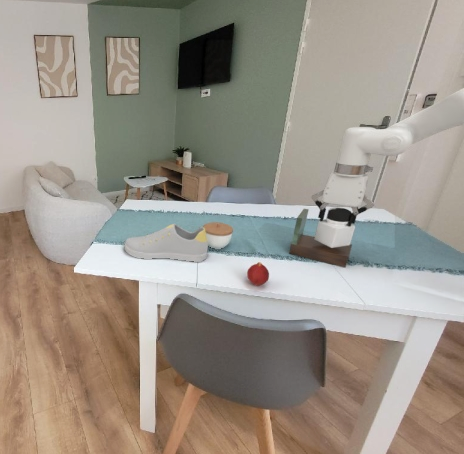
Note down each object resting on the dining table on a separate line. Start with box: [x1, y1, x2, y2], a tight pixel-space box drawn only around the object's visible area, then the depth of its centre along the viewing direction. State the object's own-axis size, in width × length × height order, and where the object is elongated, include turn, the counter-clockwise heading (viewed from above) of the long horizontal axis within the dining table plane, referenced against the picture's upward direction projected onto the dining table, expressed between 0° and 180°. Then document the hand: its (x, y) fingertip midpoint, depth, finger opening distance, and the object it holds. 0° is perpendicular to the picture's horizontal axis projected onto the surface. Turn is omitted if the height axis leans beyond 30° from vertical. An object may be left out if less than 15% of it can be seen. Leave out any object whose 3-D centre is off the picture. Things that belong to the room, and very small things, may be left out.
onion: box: [246, 261, 270, 287], centre depth 86 cm, size 6×6×8 cm
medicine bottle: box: [314, 207, 356, 248], centre depth 97 cm, size 7×7×12 cm
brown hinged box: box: [288, 208, 353, 268], centre depth 100 cm, size 16×11×14 cm
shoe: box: [124, 223, 209, 263], centre depth 106 cm, size 10×30×12 cm, turn 71°
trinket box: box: [202, 221, 234, 250], centre depth 111 cm, size 11×11×9 cm
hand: (335, 222), depth 96 cm, fingers closed on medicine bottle, 6 cm apart
